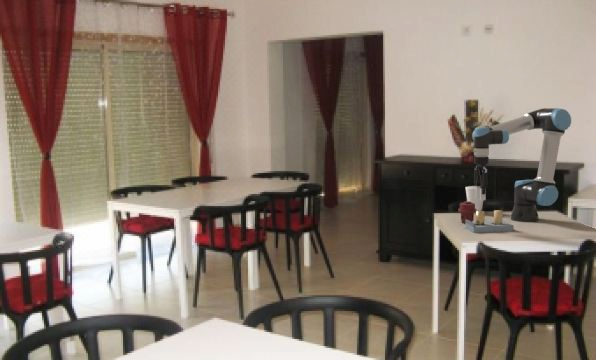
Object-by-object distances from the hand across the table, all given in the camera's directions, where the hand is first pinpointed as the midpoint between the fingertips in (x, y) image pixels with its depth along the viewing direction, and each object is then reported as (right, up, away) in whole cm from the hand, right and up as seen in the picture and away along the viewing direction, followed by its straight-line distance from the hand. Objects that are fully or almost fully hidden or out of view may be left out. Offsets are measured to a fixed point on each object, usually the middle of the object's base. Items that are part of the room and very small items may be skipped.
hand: (480, 199), depth 336 cm
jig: (+5, -16, +3) cm, 18 cm away
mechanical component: (-2, -14, +21) cm, 25 cm away
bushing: (0, -17, +2) cm, 17 cm away
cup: (+11, -10, +51) cm, 53 cm away
